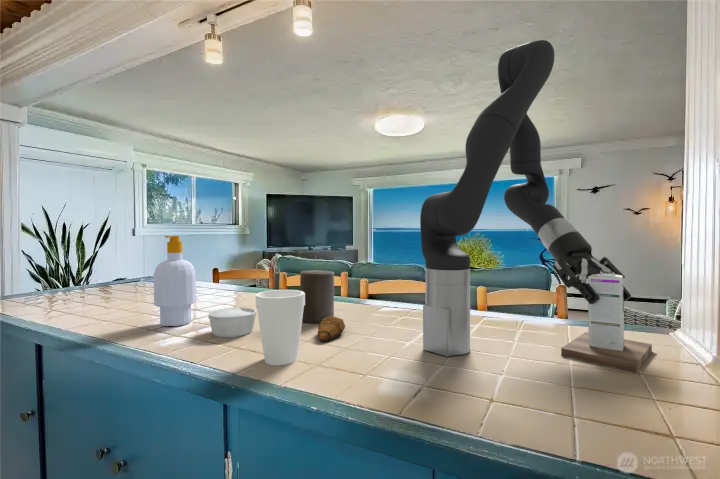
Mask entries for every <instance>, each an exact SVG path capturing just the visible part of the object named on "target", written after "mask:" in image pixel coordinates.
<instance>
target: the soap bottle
mask: <svg viewBox="0 0 720 479" xmlns="http://www.w3.org/2000/svg"><path fill="white" fill-rule="evenodd" d="M164 238H169V241H167V242H166V245H167V246H166V248H167V250H166V251H167V252H166V253H167V255H166V256H167V258H166V260H163V261H161V262H160V263H158V264H157V266H156V268H155V269H154V272H153V305H154V307H158V308H159V323H160V326H162V327H165V326H167V328H169V327H168V326H175V327H180V325H181V326H185V325H188V324H189V323H191V321H192V306H191V305H192V304H194V303H197V283H196V282H197V281H196V278H197V277H196V276H197V275H196V270H195V267H194V265H193V264H192V263H191V262H190V261H188V260H186V259H183V241H180V235H164Z"/></svg>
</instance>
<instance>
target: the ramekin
mask: <svg viewBox="0 0 720 479" xmlns="http://www.w3.org/2000/svg"><path fill="white" fill-rule="evenodd" d="M207 316H208V317H207V318H208V319H209V322H210V329H211V332H212V334H213V335H214V336H215V337H218V338H223V337H230V338H237V337H238V336H239V337H243V336H246V335H249V334H251V333H252V332H253V330H254V327H255V322H256V321H255V320H256V316H257V309H254V308H250V307H228V308H227V307H226V308H221V309H215V310H213V311H210V312H209V313H208V315H207ZM248 333H249V334H248ZM242 335H243V336H242ZM239 337H238V338H239Z"/></svg>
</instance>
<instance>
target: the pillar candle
mask: <svg viewBox="0 0 720 479" xmlns="http://www.w3.org/2000/svg"><path fill="white" fill-rule="evenodd" d="M315 269H316V270H314V269H313V270H312V269H311V270H301V271H300V276H299V277H300V278H299V281H300V283H299V286H300V287H299V288H300V289H299V291H303V292H304V293H305V305H304V309H303V318H302V323H307V324H311V325H312V324H320V323H321V321H322V320H323V319H324V318H327V317H329V316H331V315H332V316H334V317H335V271H330V270H321V269H320V270H319V269H318V267H317V266H316V268H315Z"/></svg>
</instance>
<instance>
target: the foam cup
mask: <svg viewBox="0 0 720 479" xmlns="http://www.w3.org/2000/svg"><path fill="white" fill-rule="evenodd" d="M304 305H305V293H304V292H303V291H300V289H299V290H298V289H273V290H265V291H260V292H258V293H255V309H256V312H257V317H258V324H259V330H260V337H261V338H260V339H261V346H262V351H263V357H264V363H265V364H267V365H271V366H284V365H285V366H286V365H289V364H292V363H295V362H296V361H297V360H298V356H299V351H300V341H301V334H302V324H303V322H302V318H303V309H304Z"/></svg>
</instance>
